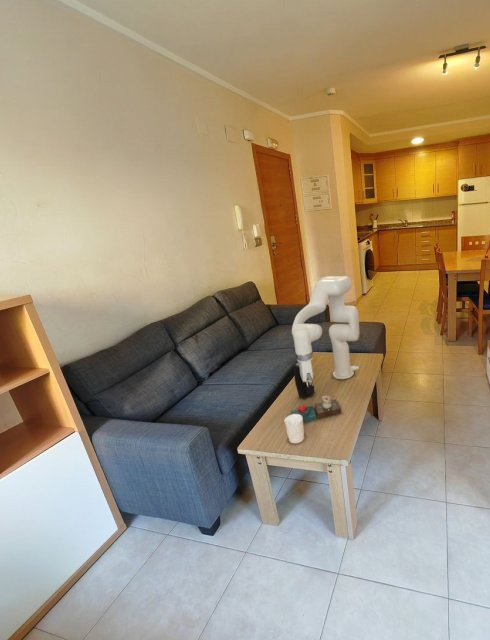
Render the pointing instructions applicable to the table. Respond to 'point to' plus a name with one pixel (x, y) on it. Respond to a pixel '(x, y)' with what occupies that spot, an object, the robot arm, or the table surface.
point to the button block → (306, 414)
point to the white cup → (294, 428)
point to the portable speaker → (300, 382)
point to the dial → (326, 401)
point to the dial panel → (327, 409)
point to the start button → (302, 409)
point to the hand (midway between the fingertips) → (309, 388)
